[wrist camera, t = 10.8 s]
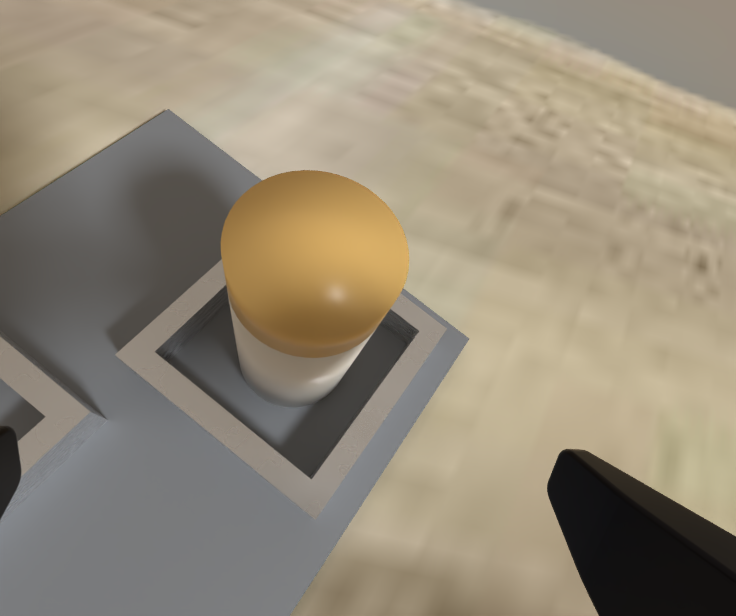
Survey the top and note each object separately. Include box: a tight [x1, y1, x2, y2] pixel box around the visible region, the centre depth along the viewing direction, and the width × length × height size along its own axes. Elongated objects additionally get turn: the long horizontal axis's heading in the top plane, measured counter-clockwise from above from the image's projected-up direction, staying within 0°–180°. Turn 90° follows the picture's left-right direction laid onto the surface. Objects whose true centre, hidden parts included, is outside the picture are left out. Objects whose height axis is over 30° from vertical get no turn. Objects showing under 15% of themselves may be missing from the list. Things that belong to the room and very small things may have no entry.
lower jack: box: [115, 259, 447, 520], centre depth 20 cm, size 10×10×2 cm
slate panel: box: [0, 109, 469, 616], centre depth 19 cm, size 21×24×1 cm
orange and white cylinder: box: [221, 170, 409, 408], centre depth 16 cm, size 5×5×10 cm
